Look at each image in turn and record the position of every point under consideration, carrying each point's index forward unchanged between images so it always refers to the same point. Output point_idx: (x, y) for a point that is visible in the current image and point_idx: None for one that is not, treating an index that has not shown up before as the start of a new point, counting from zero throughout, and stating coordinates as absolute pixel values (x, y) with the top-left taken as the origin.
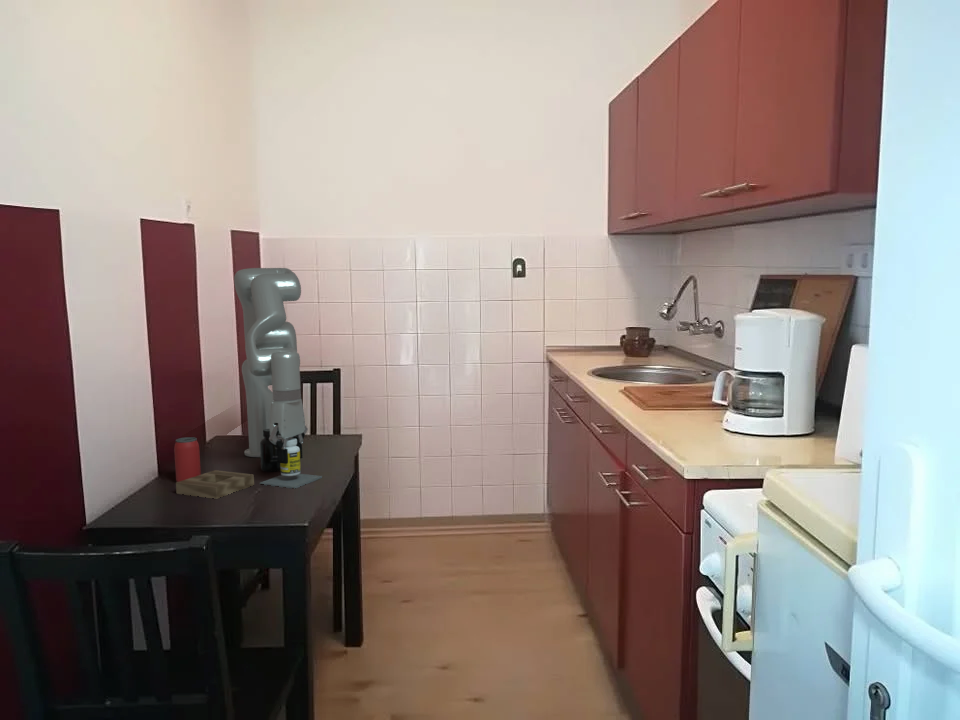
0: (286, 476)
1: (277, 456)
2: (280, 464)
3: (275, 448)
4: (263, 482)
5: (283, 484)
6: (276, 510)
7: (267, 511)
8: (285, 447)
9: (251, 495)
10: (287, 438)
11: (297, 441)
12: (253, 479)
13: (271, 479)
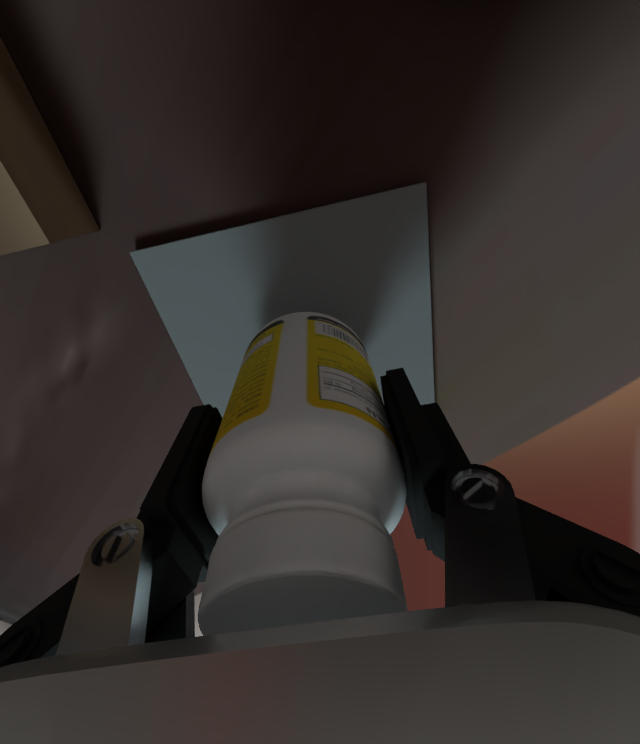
0: (337, 272)
1: (177, 441)
2: (237, 376)
3: (106, 529)
4: (154, 266)
5: (218, 394)
6: (58, 565)
7: (28, 556)
8: (189, 598)
9: (23, 389)
10: (337, 582)
11: (444, 552)
12: (70, 237)
13: (230, 248)
